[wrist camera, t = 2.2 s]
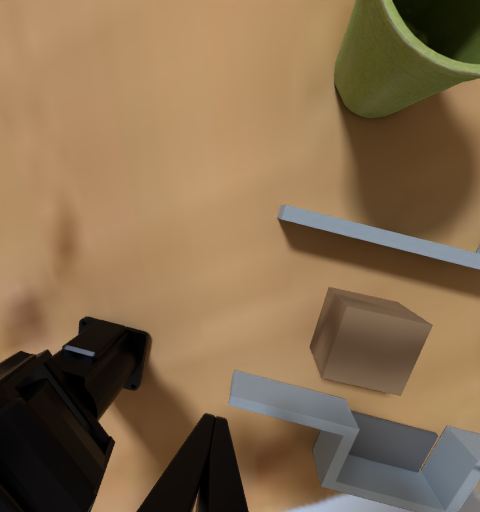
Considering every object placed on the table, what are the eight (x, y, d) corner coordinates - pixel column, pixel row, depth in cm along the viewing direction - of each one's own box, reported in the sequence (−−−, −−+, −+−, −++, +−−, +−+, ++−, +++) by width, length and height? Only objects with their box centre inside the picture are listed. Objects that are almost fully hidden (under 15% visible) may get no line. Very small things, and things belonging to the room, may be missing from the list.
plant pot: (332, -26, 15) (440, -353, 6) (474, 3, 14) (790, -291, 6) (294, 128, 17) (335, 44, 8) (418, 155, 16) (591, 99, 8)
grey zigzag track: (502, 501, 23) (539, 545, 20) (218, 425, 23) (213, 457, 20) (702, 224, 16) (801, 227, 13) (303, 125, 16) (313, 107, 14)
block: (372, 359, 20) (400, 396, 17) (309, 345, 21) (321, 377, 17) (396, 301, 19) (432, 325, 15) (328, 286, 19) (346, 306, 15)
